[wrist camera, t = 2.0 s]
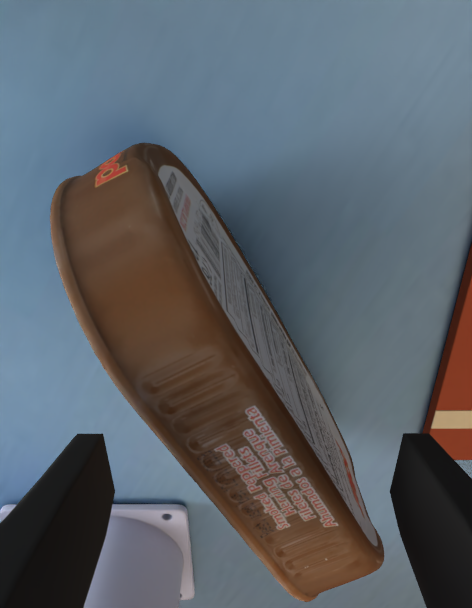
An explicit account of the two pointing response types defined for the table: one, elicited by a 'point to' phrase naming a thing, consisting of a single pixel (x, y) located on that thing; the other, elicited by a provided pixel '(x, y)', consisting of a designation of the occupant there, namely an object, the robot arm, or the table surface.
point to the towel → (455, 380)
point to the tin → (211, 365)
